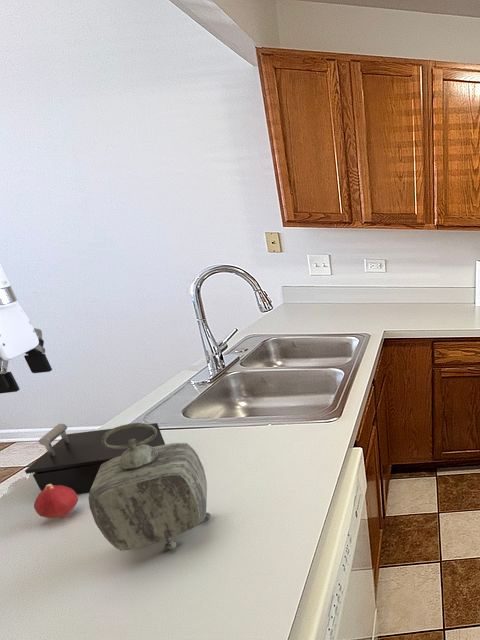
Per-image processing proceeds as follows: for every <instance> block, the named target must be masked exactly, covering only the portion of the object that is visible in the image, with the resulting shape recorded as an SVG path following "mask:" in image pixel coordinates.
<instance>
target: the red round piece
mask: <svg viewBox="0 0 480 640" xmlns="http://www.w3.org/2000/svg"><path fill="white" fill-rule="evenodd" d="M40 491H41V490H40ZM78 501H79V497H78V494H76V492H75V491H74V490H73V489H72V488H70V487H66V486H62V485H52V484H48V485H46V487H45V488H44V490H42V491H41V492H39V494H37V497H36V498H35V501H34V504H33V509H34V511H35V512H36V514H37V515H38V516H40V517H43V518H46V519H63V518H66V517H68V515H70V513H71V511H72V510H73V509H75V508H76V506H77V504H78Z"/></svg>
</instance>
